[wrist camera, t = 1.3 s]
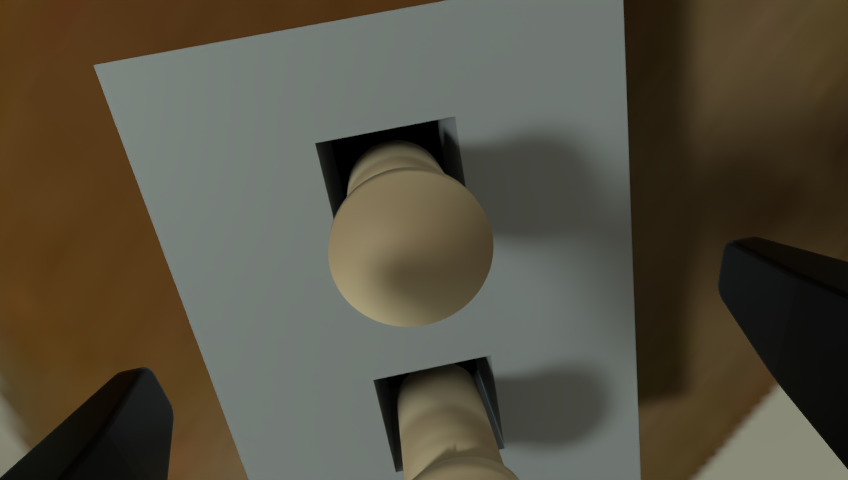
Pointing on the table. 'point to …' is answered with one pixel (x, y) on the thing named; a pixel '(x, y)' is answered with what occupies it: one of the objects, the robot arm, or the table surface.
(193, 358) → the table surface
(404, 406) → the peg
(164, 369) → the table surface
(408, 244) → the peg
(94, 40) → the table surface
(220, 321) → the board
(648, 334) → the table surface
